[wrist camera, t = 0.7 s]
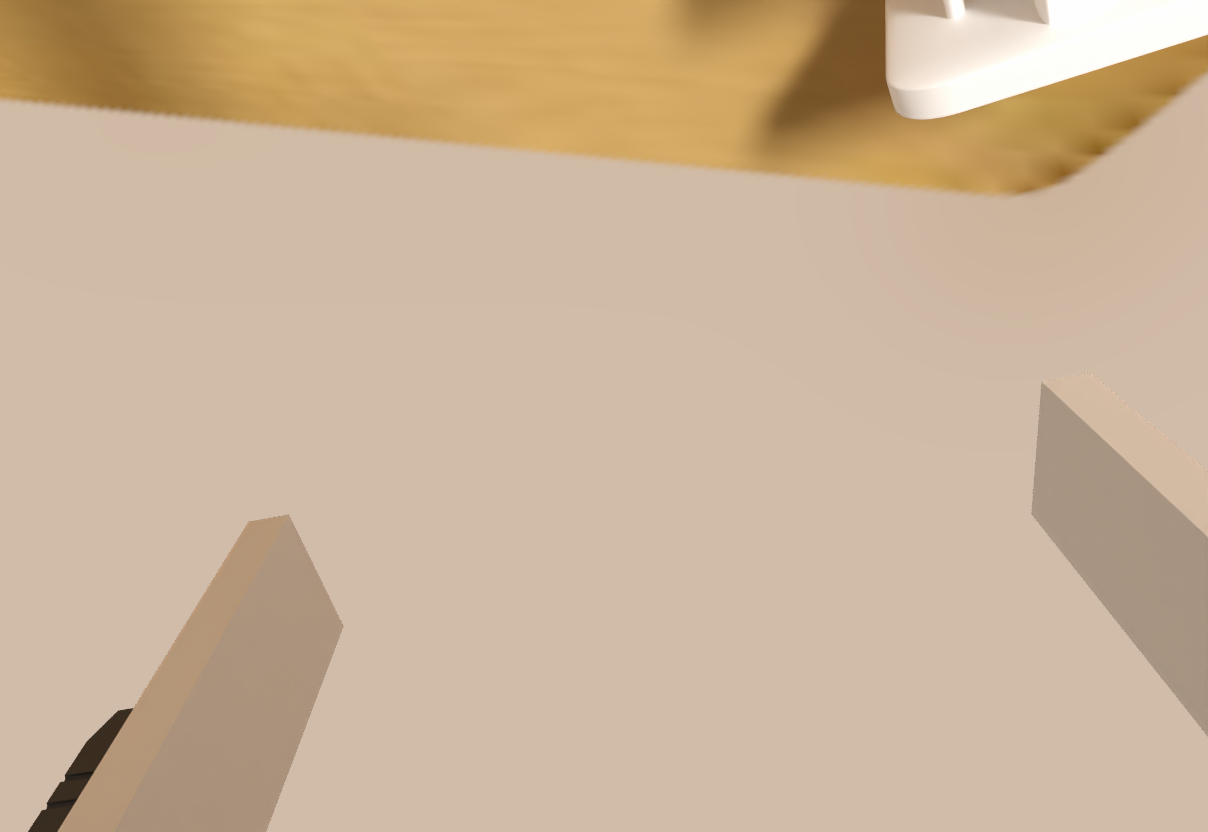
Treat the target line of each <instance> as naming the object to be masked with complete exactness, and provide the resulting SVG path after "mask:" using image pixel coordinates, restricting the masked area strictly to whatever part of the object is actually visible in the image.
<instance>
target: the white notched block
mask: <svg viewBox="0 0 1208 832" xmlns="http://www.w3.org/2000/svg"><path fill="white" fill-rule="evenodd" d="M885 22H886V81H887V85H888V88H889V92H890V95H891V98H892V102H893V105H894V108H895V110H896V112H897V113H898V114H900V115H901V116H903V117H906V118H911V119H935V118H941V117H946V116H950V115H954V114H957V113H961V112H964V111H967V110H970V109H973V108H977V107H980V106H983V105H986V104H989V103H992V102H996V101H999V100H1002V99H1005V98H1008V97H1011V96H1015V95H1018V94H1021V93H1024V92H1027V91H1030V90H1034V89H1037V88H1040V87H1043V86H1046V85H1049V84H1053V83H1056V82H1059V81H1062V80H1065V79H1069V78H1072V77H1075V76H1078V75H1081V74H1084V73H1088V72H1091V71H1094V70H1097V69H1100V68H1103V67H1107V66H1110V65H1113V64H1116V63H1119V62H1122V61H1126V60H1129V59H1132V58H1135V57H1138V56H1141V55H1145V54H1148V53H1151V52H1154V51H1157V50H1160V49H1164V48H1167V47H1170V46H1173V45H1176V44H1180V43H1183V42H1186V41H1189V40H1192V39H1195V38H1199V37H1202V36H1205V35H1208V0H885Z"/></svg>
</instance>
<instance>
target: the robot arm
mask: <svg viewBox="0 0 1208 832" xmlns="http://www.w3.org/2000/svg"><path fill="white" fill-rule="evenodd" d="M1032 515H1033V517H1034V518H1035V519H1036V520H1037V522H1038V523H1039V524H1040V525H1041V526H1042V528H1043V529H1044V530H1045V532H1046V533H1047V534H1048V535H1049V536H1050V538H1051V539H1052V541H1053V542H1054V543H1055V544H1056V546H1057V547H1058V548H1059V549H1060V551H1061V552H1062V553H1063V554H1064V556H1065V557H1066V558H1067V559H1068V561H1069V562H1070V563H1071V564H1072V566H1073V567H1074V568H1075V570H1076V571H1077V572H1078V573H1079V575H1080V576H1081V577H1082V578H1083V580H1084V581H1085V582H1086V583H1087V585H1088V586H1089V587H1090V588H1091V590H1092V591H1093V592H1094V593H1095V595H1096V596H1097V597H1098V598H1099V600H1100V601H1101V602H1102V603H1103V605H1104V606H1105V607H1106V609H1107V610H1108V611H1109V612H1110V614H1111V615H1112V616H1113V617H1114V619H1115V620H1116V621H1117V622H1118V624H1119V625H1120V626H1121V627H1122V629H1123V630H1124V631H1125V632H1126V634H1127V635H1128V636H1129V637H1130V639H1131V640H1132V641H1133V643H1134V644H1135V645H1136V646H1137V648H1138V649H1139V650H1140V651H1141V652H1142V654H1143V655H1144V656H1145V657H1146V659H1147V660H1148V661H1149V663H1150V664H1151V665H1152V666H1153V668H1154V669H1155V670H1156V672H1157V673H1158V674H1159V675H1160V677H1161V678H1162V679H1163V680H1164V682H1165V683H1166V684H1167V685H1168V687H1169V688H1170V689H1171V690H1172V692H1173V693H1174V694H1175V695H1176V697H1177V698H1178V699H1179V701H1180V702H1181V703H1182V704H1183V705H1184V707H1185V708H1186V709H1187V711H1188V712H1189V713H1190V714H1191V716H1192V717H1193V718H1194V719H1195V720H1196V722H1197V723H1198V724H1199V726H1200V727H1201V728H1202V730H1203V731H1204V732H1205V733H1206V735H1207V736H1208V471H1207V470H1206V469H1205V468H1204V467H1202V466H1201V465H1200V464H1199V463H1198V462H1196V461H1195V460H1194V459H1193V458H1191V457H1190V456H1189V455H1188V454H1187V453H1186V452H1184V451H1183V450H1182V449H1181V448H1179V447H1178V446H1177V445H1176V444H1175V443H1173V442H1172V441H1171V440H1170V439H1168V438H1167V437H1166V436H1165V435H1164V434H1162V433H1161V432H1160V431H1159V430H1158V429H1157V428H1155V427H1154V426H1153V425H1152V424H1150V423H1149V422H1148V421H1147V420H1146V419H1144V418H1143V417H1142V416H1141V415H1140V414H1138V413H1137V412H1136V411H1135V410H1134V409H1132V408H1131V407H1130V406H1129V405H1128V404H1126V403H1125V402H1124V401H1123V400H1122V399H1120V398H1119V397H1118V396H1117V395H1116V394H1114V393H1113V392H1112V391H1111V390H1109V389H1108V388H1107V387H1106V386H1105V385H1103V384H1102V383H1101V382H1100V381H1098V380H1097V379H1096V378H1095V377H1094V376H1092V375H1091V374H1090V373H1087V374H1083V375H1077V376H1071V377H1065V378H1060V379H1054V380H1048V381H1042V384H1041V397H1040V410H1039V424H1038V436H1037V449H1036V462H1035V476H1034V489H1033V503H1032ZM342 629H343V624H342V622H341V620H340V618H339V616H338V614H337V612H336V610H335V608H334V606H333V604H332V602H331V600H330V598H329V595H328V593H327V592H326V589H325V587H324V585H323V583H322V581H321V579H320V577H319V575H318V573H317V571H316V569H315V567H314V565H313V563H312V561H311V559H310V557H309V555H308V553H307V551H306V549H305V547H304V545H303V543H302V540H301V538H300V536H299V534H298V532H297V530H296V528H295V526H294V524H293V522H292V520H291V518H290V516H289V515H284V516H278V517H273V518H267V519H261V520H256V521H250V522H248V524H247V525H246V527H245V528H244V530H243V532H242V533H241V535H240V537H239V538H238V540H237V541H236V543H235V545H234V546H233V548H232V549H231V551H230V553H229V554H228V556H227V558H226V559H225V561H224V562H223V564H222V566H221V567H220V569H219V571H218V572H217V574H216V576H215V577H214V579H213V580H212V582H211V584H210V585H209V587H208V588H207V590H206V592H205V593H204V595H203V597H202V598H201V600H200V601H199V603H198V605H197V606H196V608H195V610H194V611H193V613H192V614H191V616H190V618H189V619H188V621H187V622H186V624H185V626H184V627H183V629H182V631H181V632H180V634H179V636H178V637H177V639H176V640H175V642H174V644H173V645H172V647H171V649H170V650H169V652H168V654H167V655H166V657H165V658H164V660H163V661H162V663H161V665H160V666H159V668H158V670H157V671H156V673H155V674H154V676H153V678H152V679H151V681H150V683H149V684H148V686H147V688H146V689H145V691H144V692H143V694H142V696H141V697H140V699H139V700H138V702H137V704H136V705H135V707H134V708H132V709H126V710H120V711H117V712H116V713H115V714H114V715H113V717H111V718H110V719H109V720H108V721H107V722H106V723H105V724H104V725H103V726H102V727H101V728H100V729H99V730H98V731H97V732H96V733H95V734H94V735H93V736H92V737H91V738H90V739H89V740H88V741H87V742H86V744H85V745H84V747H83V748H82V750H81V751H80V753H79V754H78V756H77V757H76V759H75V760H74V762H73V763H72V765H71V767H70V768H69V770H68V771H67V773H66V774H65V781H64V782H60V783H59V785H58V787H57V788H56V790H55V791H54V793H53V794H52V796H51V797H50V799H49V800H48V802H47V809H46V810H42V811H41V813H40V814H39V816H38V817H37V819H36V820H35V822H34V823H33V825H32V827H31V828H30V830H29V831H28V832H266V831H267V828H268V825H269V822H270V820H271V817H272V815H273V812H274V809H275V807H276V804H277V801H278V799H279V796H280V793H281V791H282V788H283V785H284V783H285V780H286V778H287V775H288V772H289V769H290V767H291V764H292V761H293V759H294V756H295V754H296V751H297V748H298V745H299V743H300V740H301V738H302V735H303V732H304V730H305V727H306V724H307V722H308V719H309V716H310V714H311V711H312V709H313V706H314V703H315V701H316V698H317V695H318V693H319V690H320V687H321V684H322V682H323V679H324V676H325V674H326V671H327V669H328V666H329V663H330V661H331V658H332V655H333V653H334V650H335V647H336V645H337V642H338V639H339V637H340V634H341V631H342Z"/></svg>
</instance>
